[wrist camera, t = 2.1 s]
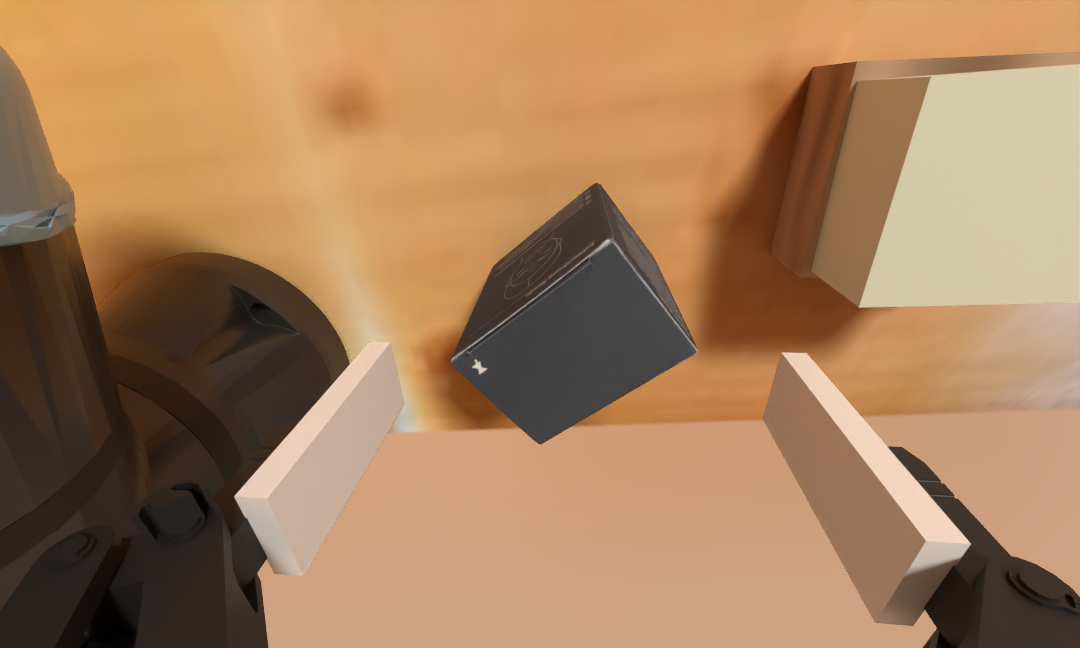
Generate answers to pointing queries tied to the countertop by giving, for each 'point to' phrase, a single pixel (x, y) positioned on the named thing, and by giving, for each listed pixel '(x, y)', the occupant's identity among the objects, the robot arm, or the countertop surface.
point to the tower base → (826, 133)
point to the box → (572, 320)
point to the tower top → (957, 191)
